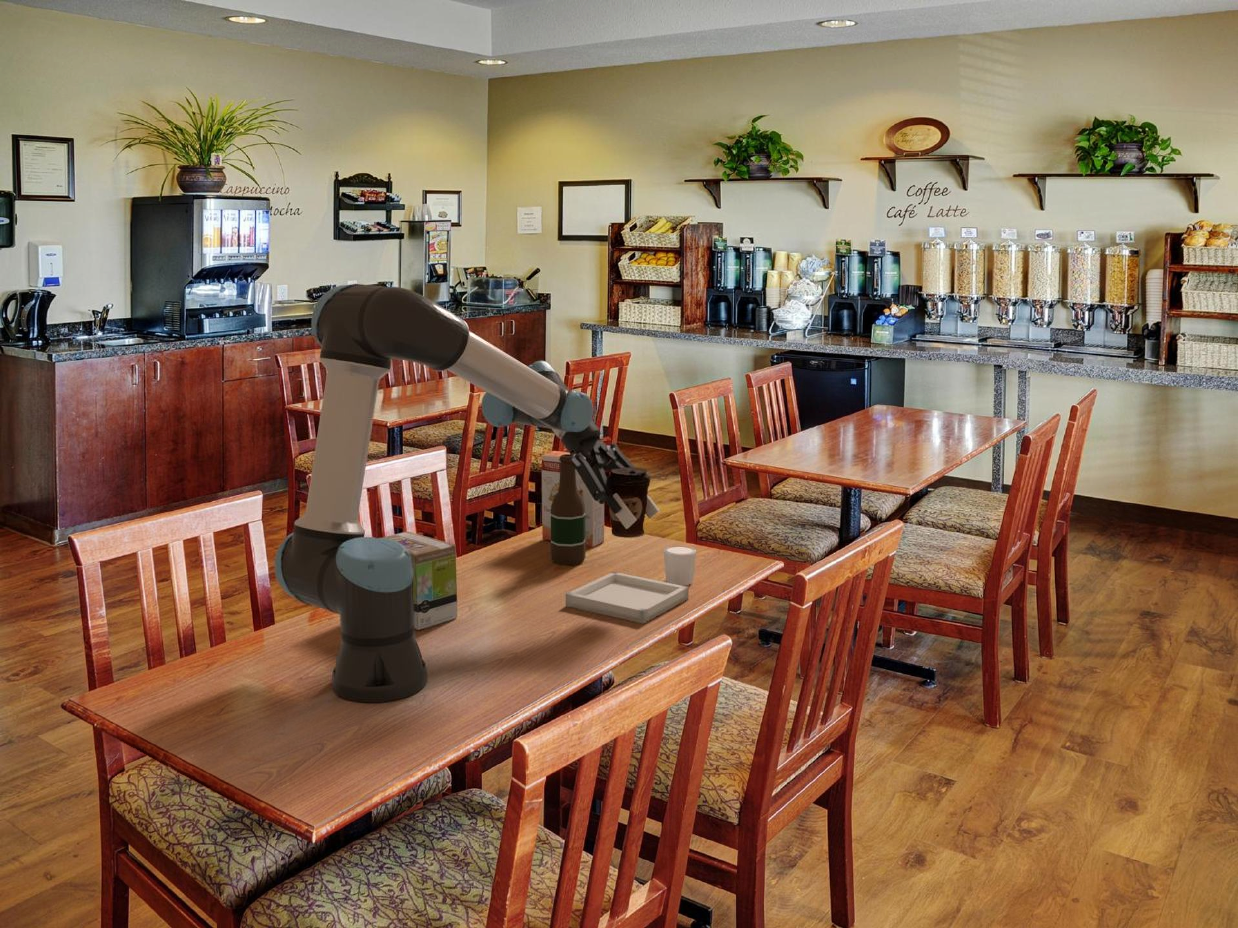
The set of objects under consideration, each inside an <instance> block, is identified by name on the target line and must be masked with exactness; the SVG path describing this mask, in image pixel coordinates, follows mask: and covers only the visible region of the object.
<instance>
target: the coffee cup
mask: <svg viewBox="0 0 1238 928" xmlns="http://www.w3.org/2000/svg"><path fill="white" fill-rule="evenodd" d="M647 472H648V469H646V468H643V467H635V466H634V467H630V468H620V469H612V470H611V473H609V475H608V476H607V480H608V482H609V485H610V487H611V489H612V492H613V495H614V494H616V493H617V494H618V496H619V497H620V498H621V499H622V501H623V502H624V503H625V505H626V506H627V507H628V509H629V510H630V511H631V513H632V514H633V515H634V517H635V518H636V519H637V520H636V521H635V522H634V523H633V524H632V525H631V526H630V527H629V528H627V529H626V528H625V527H624V525H623V524H622V523H621V521H620V520H619V519H618V517H617V516H616V515H615V513H613V511H612V510H611V509H610V507H609V506H608V508H609V519H610V525H611V534H612V536H614V537H618V538H622V539H623V538H624V539H625V538H627V539H630V538H631V539H632V538H633V539H634V538H640V537H644V535H645V530H644V523H645V518H646V514H645V513H646V510H647V495H649V494H648V493H649V492H648V491H649V487H650V483H651V476H650V475H649V474H648V473H647Z"/></svg>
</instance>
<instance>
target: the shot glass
mask: <svg viewBox="0 0 1238 928" xmlns="http://www.w3.org/2000/svg"><path fill="white" fill-rule="evenodd" d="M696 558H697V549H696V548H693V547H692V546H686V545H673V546H667V547H665V548H664V549H663V560H664V574H665V582H666V583H671V584H676V585H687V586H690V585H692V584H693V583H694V577H695V567H696ZM692 582H693V583H692ZM691 583H692V584H691ZM689 584H690V585H689Z"/></svg>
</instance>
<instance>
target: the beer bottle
mask: <svg viewBox="0 0 1238 928" xmlns="http://www.w3.org/2000/svg"><path fill="white" fill-rule="evenodd" d="M573 457H574V455H571V454H564V455H561V456H560V459H559V461H560V462H561V464H560V482H559V490H558V493H557V494H556V496H555V497H554V499H553V502H552V505H551V541H550V558H551V559H550V560H551V562H552V563H554V564H556V565H559V566H569V567H570V566H575V565H576V566H577V565H580V564H583V562H584V561H585V559H586V550H587V549H586V548H587V547H586V528H585V503H584V501H583V498H582V496H581V495H580V493H579V492H578V490H577V484H576V470H575V468H574V467H573V466H572V465H571V464H570V460H571V459H572V458H573Z"/></svg>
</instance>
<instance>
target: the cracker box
mask: <svg viewBox="0 0 1238 928" xmlns="http://www.w3.org/2000/svg"><path fill="white" fill-rule="evenodd" d="M564 454H570V453H569V452H568V451H567V452H566V451H560V450H559V451H557V450H552V451H550V452H549V451H548V452H546V453H544V454H542V455H541V519H542V520H541V523H542V524H541V525H542V526H541V527H542V528H541V530H542V531H541V532H542V535H541V536H542V538H541V539H542V540H546V541H550V542H551V505H552V502H553V499H554V497H555V496H556V494H557V493H558V490H559V482H560V464H561V462H560V461H559V459H560V456H561V455H564ZM574 456H575V455H574ZM575 470H576V469H575ZM576 484H577V490H578V492H579V493H580V495H581V496H582V498H583V501H584V503H585V528H586V548H591V549H593V548H595V547H597V546H598V545H600V544H602V543H605V503H604V504H600V503H599V502H598V501H595V500H594V498H593V497H592V495H591V494H590V492H589V490H588V489H587V487H586V485H585V484H584V482H583V480H582V479H581V477H580V475H579V474H578V472H577V470H576ZM596 493H598V491H597V492H596Z"/></svg>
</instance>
